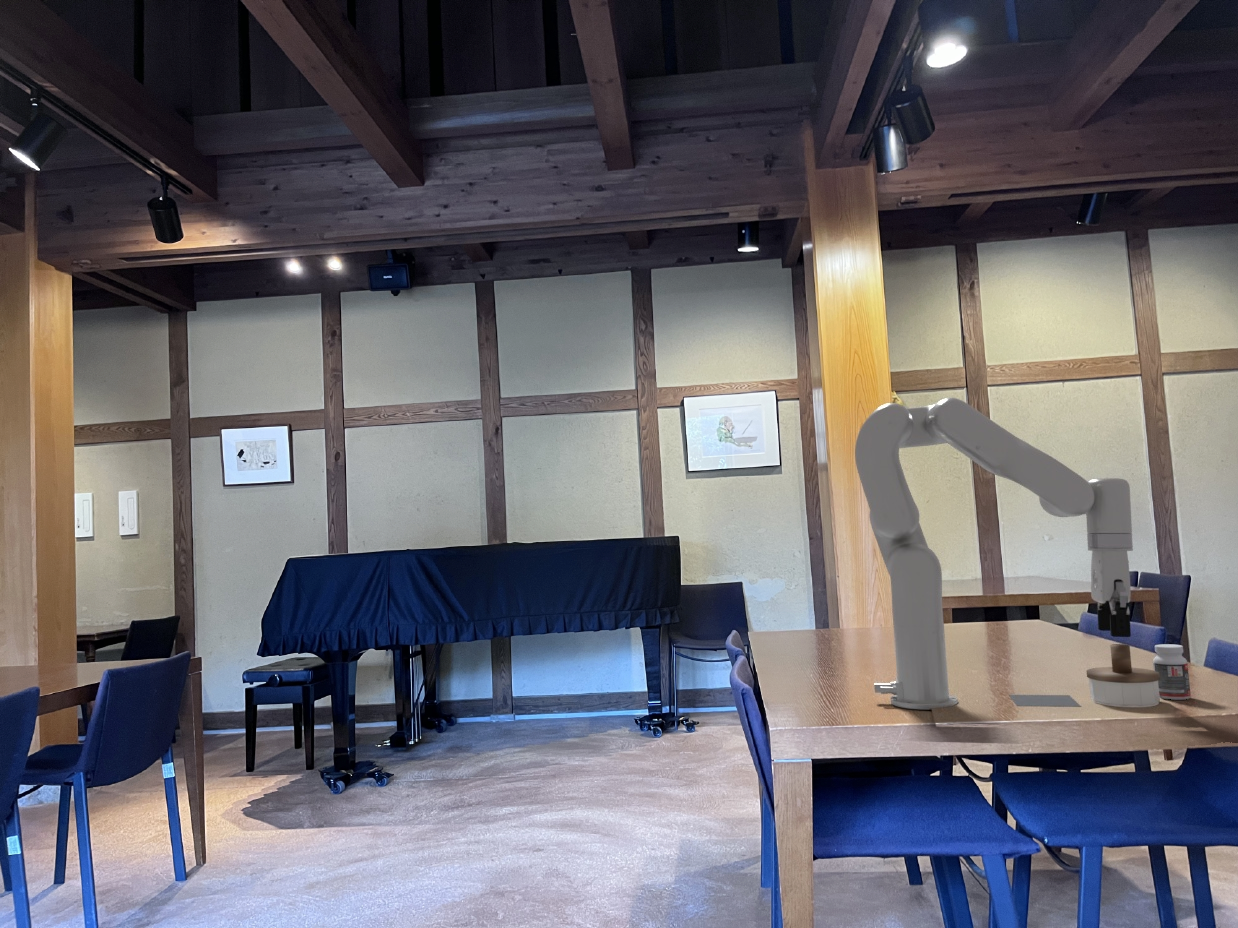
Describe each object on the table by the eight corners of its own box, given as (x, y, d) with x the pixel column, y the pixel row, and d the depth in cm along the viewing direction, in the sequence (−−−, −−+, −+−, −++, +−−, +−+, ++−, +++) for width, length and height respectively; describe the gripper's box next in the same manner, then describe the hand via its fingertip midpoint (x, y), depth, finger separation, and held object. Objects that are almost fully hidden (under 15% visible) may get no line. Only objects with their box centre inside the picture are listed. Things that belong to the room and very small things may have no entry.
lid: (1094, 682, 162) (1092, 649, 163) (1080, 671, 174) (1078, 641, 174) (1168, 682, 159) (1165, 649, 160) (1149, 672, 171) (1146, 640, 171)
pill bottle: (1196, 700, 167) (1191, 647, 167) (1163, 700, 168) (1158, 647, 169) (1183, 694, 172) (1178, 643, 173) (1151, 695, 173) (1146, 643, 174)
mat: (1017, 708, 166) (1016, 705, 166) (1009, 697, 177) (1008, 694, 177) (1081, 709, 163) (1081, 706, 163) (1069, 698, 174) (1069, 695, 174)
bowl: (1099, 709, 162) (1097, 682, 163) (1086, 698, 173) (1084, 672, 173) (1167, 710, 159) (1164, 682, 160) (1149, 698, 170) (1147, 672, 170)
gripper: (1078, 542, 178) (1082, 627, 177) (1098, 544, 161) (1102, 638, 160) (1120, 542, 176) (1124, 628, 175) (1144, 544, 159) (1149, 639, 158)
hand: (1114, 633), depth 167 cm, fingers open, 9 cm apart
